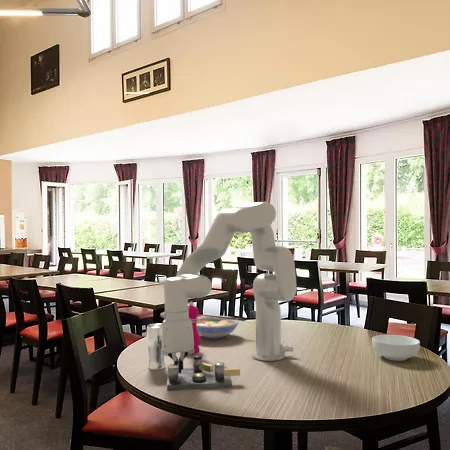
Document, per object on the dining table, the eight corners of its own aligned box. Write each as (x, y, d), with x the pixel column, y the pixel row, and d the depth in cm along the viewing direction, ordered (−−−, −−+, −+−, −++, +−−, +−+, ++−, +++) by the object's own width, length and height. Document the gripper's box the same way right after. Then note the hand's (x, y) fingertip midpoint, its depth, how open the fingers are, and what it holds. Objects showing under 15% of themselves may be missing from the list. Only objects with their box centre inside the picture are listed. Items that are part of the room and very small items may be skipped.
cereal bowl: (426, 357, 170) (426, 338, 170) (409, 367, 158) (409, 347, 158) (383, 349, 182) (382, 331, 182) (364, 358, 170) (364, 339, 170)
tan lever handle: (190, 370, 152) (190, 356, 152) (197, 367, 154) (197, 354, 154) (208, 375, 146) (208, 361, 146) (215, 372, 149) (215, 358, 149)
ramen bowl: (176, 338, 201) (176, 320, 201) (207, 328, 220) (207, 311, 220) (222, 346, 187) (222, 327, 187) (251, 335, 206) (250, 317, 206)
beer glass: (150, 372, 155) (150, 328, 155) (144, 366, 162) (143, 324, 162) (169, 368, 159) (169, 326, 159) (162, 363, 165) (162, 322, 165)
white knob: (179, 381, 141) (179, 366, 141) (169, 382, 140) (169, 367, 140) (174, 373, 148) (174, 359, 148) (164, 374, 148) (164, 360, 148)
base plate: (226, 371, 156) (226, 361, 156) (232, 387, 140) (232, 377, 140) (167, 373, 154) (167, 364, 154) (167, 390, 138) (166, 380, 138)
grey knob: (214, 379, 142) (214, 365, 142) (214, 376, 145) (214, 362, 145) (240, 378, 143) (240, 364, 143) (239, 375, 146) (238, 361, 146)
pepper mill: (198, 355, 175) (197, 303, 175) (180, 354, 177) (179, 303, 177) (202, 350, 182) (202, 300, 182) (185, 349, 184) (185, 300, 184)
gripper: (153, 319, 141) (155, 378, 141) (200, 316, 143) (202, 374, 143) (153, 314, 148) (155, 370, 149) (199, 311, 150) (200, 366, 151)
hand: (178, 372), depth 146 cm, fingers closed
